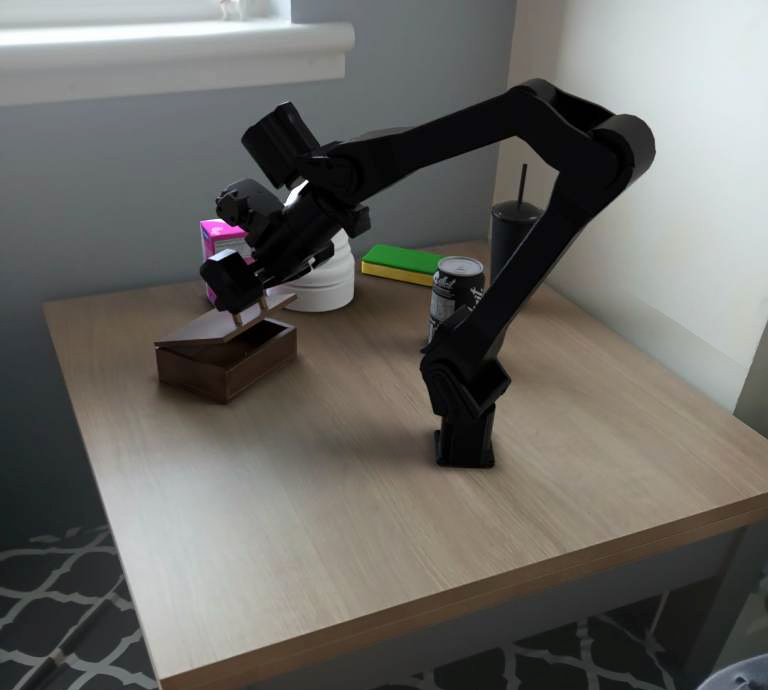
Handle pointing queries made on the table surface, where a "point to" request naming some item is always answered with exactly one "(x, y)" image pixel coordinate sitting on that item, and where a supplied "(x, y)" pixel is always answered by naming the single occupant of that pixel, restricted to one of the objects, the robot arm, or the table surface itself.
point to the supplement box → (222, 243)
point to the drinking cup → (510, 227)
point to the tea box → (229, 361)
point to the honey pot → (322, 278)
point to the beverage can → (454, 288)
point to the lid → (224, 323)
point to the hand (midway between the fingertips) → (234, 298)
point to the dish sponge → (401, 264)
